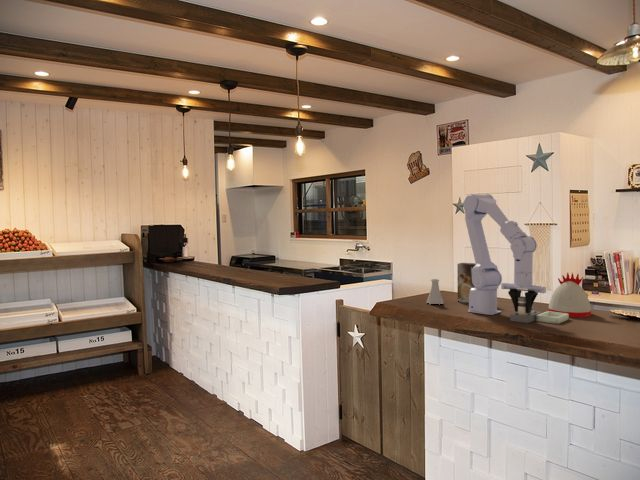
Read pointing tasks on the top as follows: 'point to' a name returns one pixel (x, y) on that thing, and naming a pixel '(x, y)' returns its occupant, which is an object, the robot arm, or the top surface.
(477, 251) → the robot arm
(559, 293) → the kitchen timer
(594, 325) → the top surface
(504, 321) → the top surface
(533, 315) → the grey compartment rack
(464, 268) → the coffee box
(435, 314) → the top surface
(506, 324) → the top surface
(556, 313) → the parts tray
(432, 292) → the flask
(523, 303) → the cylinder
